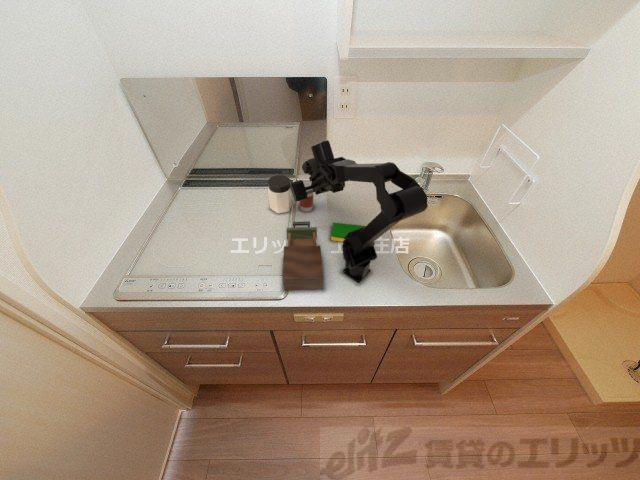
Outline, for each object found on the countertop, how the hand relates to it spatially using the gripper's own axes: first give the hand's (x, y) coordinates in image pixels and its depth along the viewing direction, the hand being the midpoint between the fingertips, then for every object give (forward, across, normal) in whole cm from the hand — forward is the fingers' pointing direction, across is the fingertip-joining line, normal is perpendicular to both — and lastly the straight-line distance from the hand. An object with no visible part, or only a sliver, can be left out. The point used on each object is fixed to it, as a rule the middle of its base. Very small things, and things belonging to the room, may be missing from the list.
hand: (310, 190), depth 97 cm
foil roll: (+9, 0, +5) cm, 11 cm away
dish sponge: (-6, -7, +20) cm, 22 cm away
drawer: (-4, +10, +17) cm, 20 cm away
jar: (+13, +9, +2) cm, 16 cm away
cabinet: (-11, +15, +25) cm, 32 cm away
